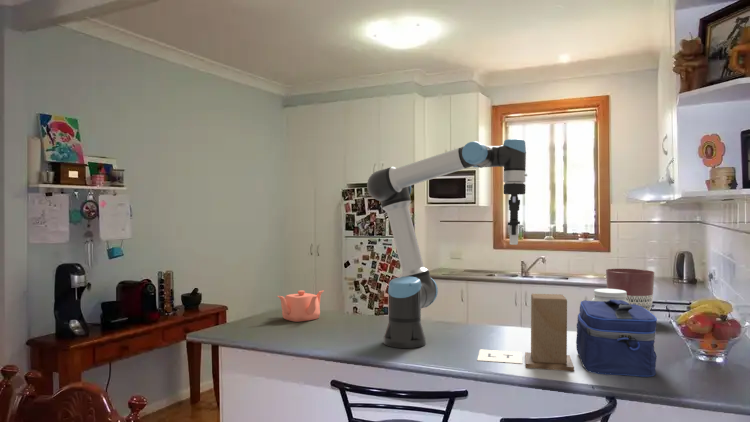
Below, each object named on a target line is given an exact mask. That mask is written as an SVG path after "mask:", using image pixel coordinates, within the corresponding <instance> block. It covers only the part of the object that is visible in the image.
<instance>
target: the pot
mask: <svg viewBox="0 0 750 422" xmlns="http://www.w3.org/2000/svg"><path fill="white" fill-rule="evenodd" d="M323 292H325V290H319V291H318V292H317V294H315V293H314V294H313V293H310V292H309V293H307V292H306V291H305V290H303V289H302V290H301V289H300V290H297V293H289V294H285V296H282V295H277V297H278V298H279V299H280V304H281V312H282V313H281V314H282V315H281V316H282V318H283V319H284V320H286V321H291V322H295V323H296V322H307V321H314V320H318V319H319V318H320V315H321V308H320V305H321V296H322V294H323Z"/></svg>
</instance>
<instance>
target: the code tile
mask: <svg viewBox="0 0 750 422" xmlns="http://www.w3.org/2000/svg"><path fill="white" fill-rule="evenodd" d="M477 362H490V363H492V362H493V363H503V362H505V364H520V365H522V364H523V352H522V351H511V350H510V351H509V350H495V349H494V350H493V349H482V348H481V349H479V351H478V356H477Z"/></svg>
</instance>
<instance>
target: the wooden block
mask: <svg viewBox="0 0 750 422" xmlns="http://www.w3.org/2000/svg"><path fill="white" fill-rule="evenodd" d="M530 296H531V297H530V298H531V299H530V301H531V302H530V319H531V320H530V353H531V355H532V359H533V362H537V363H554V364H566V363H567V355H568V354H567V353H568V299H567V298H566V297H565V296H564V294H557V293H556V294H555V293H551V294H550V293H531V295H530Z"/></svg>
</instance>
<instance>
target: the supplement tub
mask: <svg viewBox="0 0 750 422" xmlns="http://www.w3.org/2000/svg"><path fill="white" fill-rule="evenodd" d="M593 295H594V297H593V298H592V300H591V301H609V300H610V299H612V300H623V301H625V302H627V303H629V302H628V300H627V299H626V297H627V292H626V291H624V290H618V289H607V288H595V289H593Z"/></svg>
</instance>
